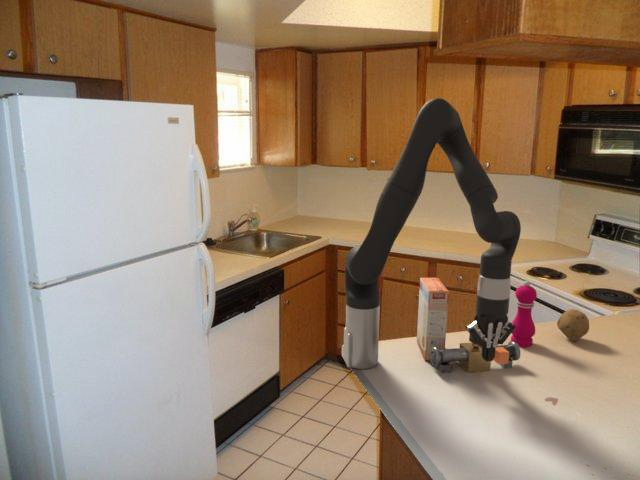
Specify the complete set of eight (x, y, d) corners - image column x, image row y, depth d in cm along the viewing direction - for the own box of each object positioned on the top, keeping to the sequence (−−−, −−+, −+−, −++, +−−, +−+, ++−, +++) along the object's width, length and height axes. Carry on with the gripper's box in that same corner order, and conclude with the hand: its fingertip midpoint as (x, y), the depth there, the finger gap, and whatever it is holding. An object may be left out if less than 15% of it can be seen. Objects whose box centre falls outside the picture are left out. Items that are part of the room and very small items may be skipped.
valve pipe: (437, 375, 136) (438, 349, 134) (428, 365, 142) (430, 340, 140) (519, 368, 140) (522, 343, 138) (508, 359, 146) (510, 335, 144)
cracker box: (445, 361, 144) (449, 291, 140) (424, 361, 144) (427, 290, 140) (435, 341, 158) (439, 276, 153) (416, 341, 158) (419, 276, 153)
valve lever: (466, 339, 140) (467, 329, 140) (478, 338, 141) (479, 328, 141) (496, 364, 125) (497, 353, 125) (510, 363, 126) (511, 352, 126)
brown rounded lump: (549, 338, 160) (553, 308, 158) (564, 331, 166) (567, 302, 164) (578, 348, 153) (582, 316, 151) (592, 340, 159) (596, 310, 157)
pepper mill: (508, 345, 155) (513, 282, 151) (509, 337, 161) (514, 276, 157) (533, 349, 152) (540, 285, 148) (534, 340, 159) (540, 279, 154)
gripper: (476, 300, 118) (471, 369, 122) (526, 296, 121) (520, 364, 125) (460, 290, 125) (456, 356, 129) (508, 287, 128) (503, 351, 132)
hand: (487, 360), depth 127 cm, fingers closed
